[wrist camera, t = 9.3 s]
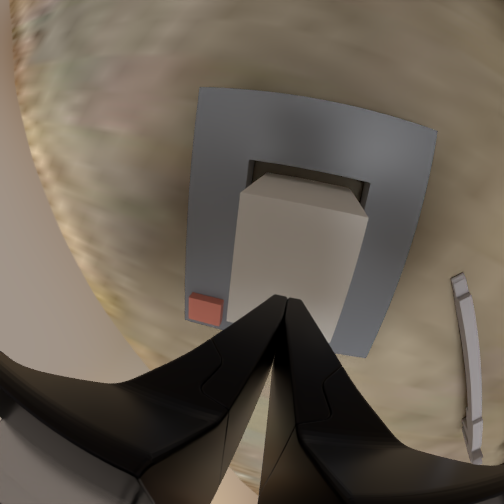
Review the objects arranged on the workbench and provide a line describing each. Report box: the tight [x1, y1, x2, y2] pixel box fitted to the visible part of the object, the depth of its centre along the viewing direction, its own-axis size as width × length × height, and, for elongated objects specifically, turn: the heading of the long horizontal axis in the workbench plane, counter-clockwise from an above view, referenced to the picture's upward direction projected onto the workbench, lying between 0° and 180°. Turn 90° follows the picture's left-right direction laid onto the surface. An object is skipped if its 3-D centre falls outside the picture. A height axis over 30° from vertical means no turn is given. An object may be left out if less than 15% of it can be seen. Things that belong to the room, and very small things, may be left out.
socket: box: [185, 87, 438, 358], centre depth 15 cm, size 12×14×2 cm
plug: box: [226, 172, 368, 343], centre depth 14 cm, size 4×7×6 cm, turn 173°
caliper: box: [451, 273, 483, 465], centre depth 15 cm, size 20×1×6 cm, turn 30°
